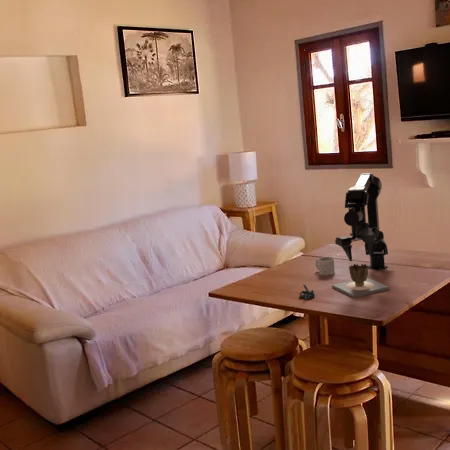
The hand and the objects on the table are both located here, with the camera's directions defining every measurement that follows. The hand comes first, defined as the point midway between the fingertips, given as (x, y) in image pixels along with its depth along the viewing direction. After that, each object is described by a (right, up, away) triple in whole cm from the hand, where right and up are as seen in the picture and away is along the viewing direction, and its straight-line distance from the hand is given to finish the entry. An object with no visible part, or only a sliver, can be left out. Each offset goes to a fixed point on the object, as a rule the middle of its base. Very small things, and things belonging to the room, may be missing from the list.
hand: (360, 258), depth 231 cm
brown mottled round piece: (0, -11, +1) cm, 11 cm away
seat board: (0, -12, +1) cm, 12 cm away
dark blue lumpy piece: (-22, -15, -2) cm, 26 cm away
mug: (-10, -8, +28) cm, 31 cm away
